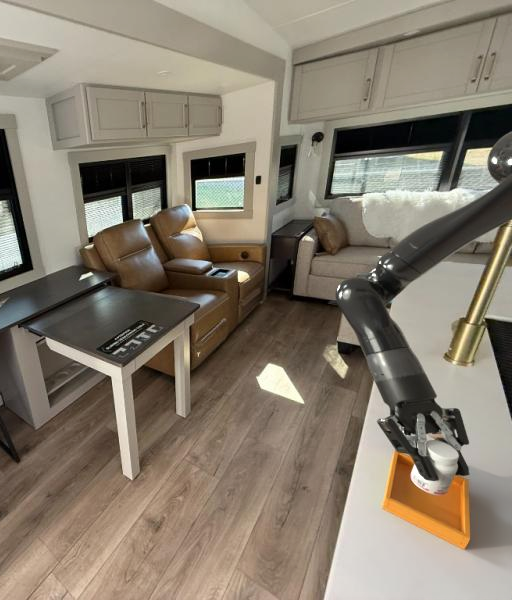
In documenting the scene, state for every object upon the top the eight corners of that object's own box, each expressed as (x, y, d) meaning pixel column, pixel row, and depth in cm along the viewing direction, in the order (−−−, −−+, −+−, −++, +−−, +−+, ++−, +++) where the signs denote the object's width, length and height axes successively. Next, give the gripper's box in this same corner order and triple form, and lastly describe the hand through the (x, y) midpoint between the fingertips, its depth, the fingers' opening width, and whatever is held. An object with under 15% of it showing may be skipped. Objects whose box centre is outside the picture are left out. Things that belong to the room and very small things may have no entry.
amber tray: (463, 489, 58) (468, 479, 57) (464, 550, 50) (470, 539, 49) (391, 459, 65) (394, 449, 64) (381, 508, 57) (385, 497, 56)
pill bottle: (442, 478, 57) (458, 444, 53) (450, 501, 53) (467, 466, 50) (407, 467, 59) (420, 434, 56) (412, 488, 56) (426, 454, 52)
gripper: (377, 378, 55) (428, 488, 49) (453, 366, 56) (512, 474, 50) (348, 383, 62) (388, 481, 56) (416, 373, 63) (463, 468, 57)
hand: (446, 477), depth 53 cm, fingers closed on pill bottle, 4 cm apart
